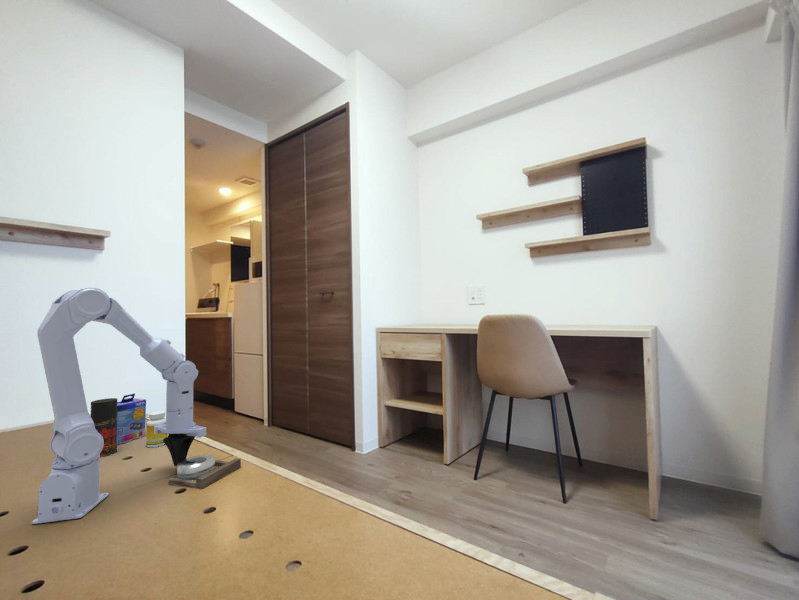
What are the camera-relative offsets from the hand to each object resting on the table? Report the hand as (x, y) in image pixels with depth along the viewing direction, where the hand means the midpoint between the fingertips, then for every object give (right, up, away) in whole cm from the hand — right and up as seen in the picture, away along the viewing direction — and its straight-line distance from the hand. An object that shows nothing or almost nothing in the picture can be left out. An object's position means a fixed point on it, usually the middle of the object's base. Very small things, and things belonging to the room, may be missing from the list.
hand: (179, 464), depth 88 cm
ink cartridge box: (-33, -4, +26) cm, 42 cm away
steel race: (+5, -2, -1) cm, 5 cm away
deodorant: (-30, -4, +14) cm, 34 cm away
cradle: (+8, -1, -3) cm, 8 cm away
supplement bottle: (-20, -4, +21) cm, 29 cm away
